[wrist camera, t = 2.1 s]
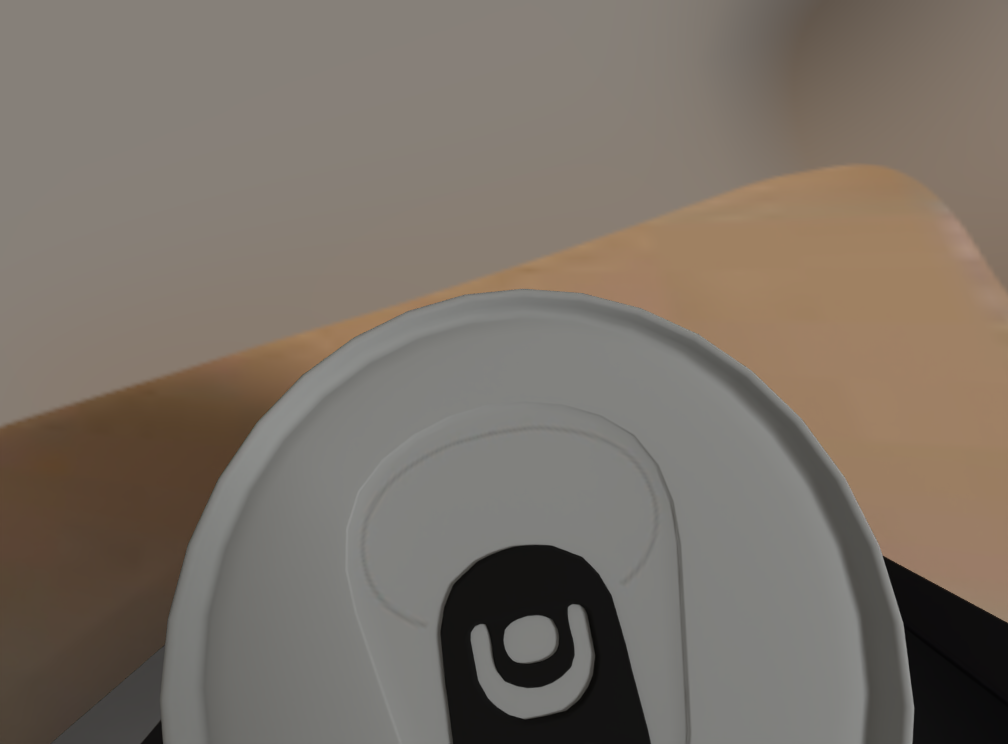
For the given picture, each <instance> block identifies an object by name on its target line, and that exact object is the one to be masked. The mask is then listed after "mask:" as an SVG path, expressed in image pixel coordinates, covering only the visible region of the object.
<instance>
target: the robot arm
mask: <svg viewBox="0 0 1008 744" xmlns="http://www.w3.org/2000/svg"><path fill="white" fill-rule="evenodd" d="M883 559H884V562H885V566H886V569H887V572H888V575H889V579H890V582H891V585H892V588H893V592H894V595H895V598H896V601H897V605H898V608H899V611H900V614H901V618H902V621H903V625H904V632H905V640H906V648H907V656H908V664H909V672H910V679H911V687H912V695H913V703H914V723H913V741H912V744H1008V623H1007V622H1005V621H1003V620H1001V619H999V618H998V617H996V616H994V615H992V614H990V613H988V612H986V611H985V610H983V609H981V608H979V607H977V606H975V605H973V604H972V603H970V602H968V601H966V600H964V599H962V598H960V597H959V596H957V595H955V594H953V593H951V592H949V591H947V590H946V589H944V588H942V587H940V586H938V585H936V584H934V583H933V582H931V581H929V580H927V579H925V578H923V577H921V576H920V575H918V574H916V573H914V572H912V571H910V570H908V569H907V568H905V567H903V566H901V565H899V564H897V563H895V562H894V561H892V560H890V559H888V558H886V557H884V556H883ZM141 744H163V735H162V722H161V720H160V721H159V722H158V723H157V725H156V726H155V727H154V728H153V729H152V731H151V732H150V733H149V734H148V735H147V736H146V738H145V739H144V740H143V741H142V742H141Z"/></svg>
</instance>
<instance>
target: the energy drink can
mask: <svg viewBox="0 0 1008 744" xmlns="http://www.w3.org/2000/svg"><path fill="white" fill-rule="evenodd" d="M160 709H161V722H162V735H163V744H912V741H913V723H914V703H913V695H912V687H911V679H910V672H909V664H908V656H907V648H906V640H905V632H904V625H903V621H902V618H901V614H900V611H899V608H898V605H897V601H896V598H895V595H894V592H893V588H892V585H891V582H890V579H889V575H888V572H887V569H886V566H885V562H884V559H883V556H882V553H881V549H880V546H879V544H878V542H877V540H876V538H875V536H874V534H873V532H872V530H871V528H870V526H869V524H868V522H867V521H866V519H865V517H864V515H863V513H862V511H861V509H860V507H859V505H858V503H857V501H856V499H855V497H854V495H853V493H852V491H851V489H850V487H849V485H848V483H847V481H846V479H845V477H844V476H843V474H842V473H841V472H840V470H839V469H838V468H837V466H836V465H835V464H834V462H833V461H832V460H831V458H830V457H829V455H828V454H827V453H826V451H825V450H824V449H823V447H822V446H821V445H820V443H819V442H818V441H817V439H816V438H815V436H814V435H813V434H812V432H811V431H810V430H809V428H808V427H807V426H806V424H805V423H804V422H803V420H802V419H801V418H800V417H799V416H798V415H797V414H796V413H795V412H794V411H793V410H792V409H791V408H790V407H789V406H788V405H787V404H786V403H785V402H784V401H782V400H781V399H780V398H779V397H778V396H777V395H776V394H775V393H774V392H773V391H772V390H771V389H770V388H769V387H768V386H767V385H766V384H765V383H764V382H763V381H762V380H761V379H760V378H759V377H758V376H757V375H756V374H754V373H753V372H752V371H751V370H750V369H748V368H747V367H745V366H744V365H742V364H741V363H739V362H738V361H736V360H735V359H734V358H732V357H731V356H729V355H728V354H726V353H725V352H723V351H722V350H720V349H719V348H717V347H716V346H714V345H713V344H712V343H710V342H709V341H707V340H706V339H704V338H703V337H701V336H700V335H698V334H696V333H694V332H692V331H690V330H687V329H685V328H683V327H681V326H679V325H676V324H674V323H672V322H670V321H668V320H665V319H663V318H661V317H659V316H657V315H654V314H652V313H650V312H648V311H646V310H643V309H641V308H638V307H634V306H630V305H626V304H622V303H618V302H614V301H610V300H607V299H603V298H599V297H595V296H591V295H587V294H583V293H572V292H559V291H546V290H532V289H517V290H507V291H497V292H487V293H477V294H468V295H462V296H459V297H455V298H452V299H449V300H445V301H442V302H438V303H435V304H431V305H428V306H424V307H421V308H417V309H414V310H410V311H407V312H405V313H403V314H401V315H399V316H397V317H395V318H393V319H391V320H389V321H387V322H385V323H383V324H381V325H379V326H377V327H375V328H373V329H371V330H369V331H367V332H364V333H362V334H360V335H358V336H356V337H354V338H353V339H351V340H350V341H349V342H347V343H346V344H344V345H343V346H342V347H340V348H339V349H338V350H336V351H335V352H334V353H332V354H331V355H329V356H328V357H327V358H325V359H324V360H323V361H321V362H320V363H319V364H317V365H316V366H314V367H313V368H312V369H310V370H309V371H308V372H306V373H305V374H303V375H302V376H301V377H300V378H299V379H298V380H297V382H296V383H295V384H294V385H293V386H292V387H291V388H290V389H289V390H288V391H287V392H286V393H285V394H284V395H283V396H282V397H281V398H280V399H279V400H278V401H277V402H276V403H275V404H274V405H273V406H272V407H271V408H270V409H269V410H268V411H267V412H266V414H265V415H264V416H263V417H262V418H261V419H260V420H259V421H258V422H257V423H256V425H255V426H254V428H253V429H252V430H251V432H250V433H249V435H248V436H247V438H246V439H245V441H244V442H243V444H242V445H241V447H240V448H239V450H238V451H237V452H236V454H235V455H234V457H233V458H232V460H231V461H230V463H229V464H228V466H227V467H226V469H225V470H224V471H223V473H222V474H221V476H220V477H219V479H218V481H217V483H216V485H215V487H214V490H213V492H212V494H211V496H210V498H209V500H208V503H207V505H206V507H205V509H204V511H203V513H202V516H201V518H200V520H199V522H198V524H197V526H196V529H195V531H194V533H193V535H192V537H191V539H190V542H189V544H188V546H187V550H186V554H185V558H184V561H183V565H182V569H181V572H180V576H179V580H178V583H177V587H176V591H175V594H174V598H173V602H172V605H171V609H170V613H169V617H168V622H167V632H166V642H165V653H164V663H163V673H162V683H161V693H160Z"/></svg>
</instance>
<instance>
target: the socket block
mask: <svg viewBox="0 0 1008 744" xmlns="http://www.w3.org/2000/svg"><path fill="white" fill-rule="evenodd" d="M164 653H165V645H164V646H163V647H162V648H161V649H160V650H158V651H157V652H156V653H155V654H154V655H153V656H151V657H150V658H149V659H148V660H147V661H146V662H144V663H143V664H142V665H141V666H140V667H139V668H138V669H136V670H135V671H134V672H133V673H132V674H131V675H129V676H128V677H127V678H126V679H125V680H124V681H122V682H121V683H120V684H119V685H118V686H117V687H116V688H114V689H113V690H112V691H111V692H110V693H109V694H107V695H106V696H105V697H104V698H103V699H102V700H100V701H99V702H98V703H97V704H96V705H95V706H93V707H92V708H91V709H90V710H89V711H88V712H87V713H85V714H84V715H83V716H82V717H81V718H80V719H78V720H77V721H76V722H75V723H74V724H73V725H71V726H70V727H69V728H68V729H67V730H66V731H65V732H63V733H62V734H61V735H60V736H59V737H58V738H56V739H55V740H54V741H53V742H52V743H51V744H141V742H142V741H143V740H144V739H145V738H146V736H147V735H148V734H149V733H150V732H151V731H152V729H153V728H154V727H155V726H156V725H157V723H158V722H159V721H160V720H161V709H160V693H161V683H162V673H163V663H164Z"/></svg>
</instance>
